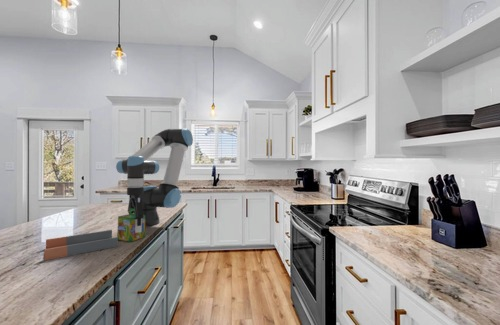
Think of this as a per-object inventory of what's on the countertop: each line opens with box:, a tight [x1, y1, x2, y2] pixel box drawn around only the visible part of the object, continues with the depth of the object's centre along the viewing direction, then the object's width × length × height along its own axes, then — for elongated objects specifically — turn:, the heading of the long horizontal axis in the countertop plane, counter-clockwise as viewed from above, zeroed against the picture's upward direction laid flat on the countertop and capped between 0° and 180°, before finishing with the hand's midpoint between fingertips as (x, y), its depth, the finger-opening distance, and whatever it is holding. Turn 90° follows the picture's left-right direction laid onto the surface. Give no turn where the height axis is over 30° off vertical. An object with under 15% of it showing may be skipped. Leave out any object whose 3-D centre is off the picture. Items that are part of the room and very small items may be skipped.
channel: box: [43, 229, 119, 261], centre depth 105 cm, size 25×16×4 cm, turn 129°
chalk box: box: [116, 208, 146, 243], centre depth 117 cm, size 9×9×15 cm
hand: (134, 229), depth 118 cm, fingers open, 13 cm apart
